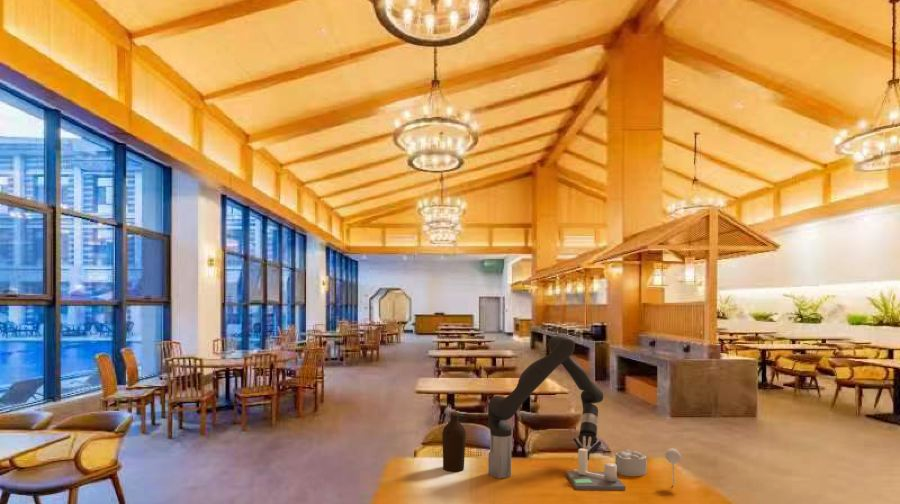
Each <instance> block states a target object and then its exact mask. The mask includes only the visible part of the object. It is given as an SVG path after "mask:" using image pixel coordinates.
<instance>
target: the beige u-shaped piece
mask: <svg viewBox="0 0 900 504" xmlns="http://www.w3.org/2000/svg"><path fill="white" fill-rule="evenodd" d="M582 448H583V447H582ZM582 448H581V449H578V450H577V453H578V457H577V459H578V460H577V461H578V463H577V464H578V467H577V468H578V469H576V468H573V471H574V472H578V474H582V475H586V474H588V475H593V476H597V477H602V478H604V479H605V480H606V481H610V482H615V481H617V478H618V471H617V465H616V464H615V462H614V463H613V462H605V463H604V465H603V467H604V471H603V472H604V475H601V474H596V473H591V472H588V471H589V469H588V468H589V462H588V461H589V460H588V449H587V448H586V449H582Z"/></svg>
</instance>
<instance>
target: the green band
mask: <svg viewBox="0 0 900 504" xmlns="http://www.w3.org/2000/svg"><path fill="white" fill-rule="evenodd" d="M573 480H574V481H575V482H576V483H593V482H592V481H591V480H590V479H573Z"/></svg>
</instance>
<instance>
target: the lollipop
mask: <svg viewBox="0 0 900 504" xmlns="http://www.w3.org/2000/svg"><path fill="white" fill-rule="evenodd" d="M664 455H665V459H666V460H667V462H668V463H671V464H672V486H673V485H674V486H675V464H678V463H679V462H680V461H681V458H682V455H681V453H680V451H679V450H678V449H676V448H672V447H671V448H668V449H667V450H666V452H665V453H664Z"/></svg>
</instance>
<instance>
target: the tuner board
mask: <svg viewBox="0 0 900 504" xmlns="http://www.w3.org/2000/svg"><path fill="white" fill-rule="evenodd" d="M588 472H591V473H596V474H601V475H604V471H599V470H598V471H596V470H595V471H591V470H590V471H589V470H588ZM565 475H566V477H567V478H568V480H569V481H570V483H571V484H572V486H573V487H574V489H575V490H579V491H580V490H581V491H583V490H584V491H587V490H589V491H590V490H591V491H595V490H598V491H626V485H624V483H623V482H622V481H621V480H620V479H619V478H618V477H617V481H615V482H610V481H606V480H605V479H604V478H602V477H597V476H593V475H588V474H586V475H582V474H578V472H574V470H566V471H565ZM573 479H590V480H591V481H592V482H593V483H576V482H575V481H574V480H573Z"/></svg>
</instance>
